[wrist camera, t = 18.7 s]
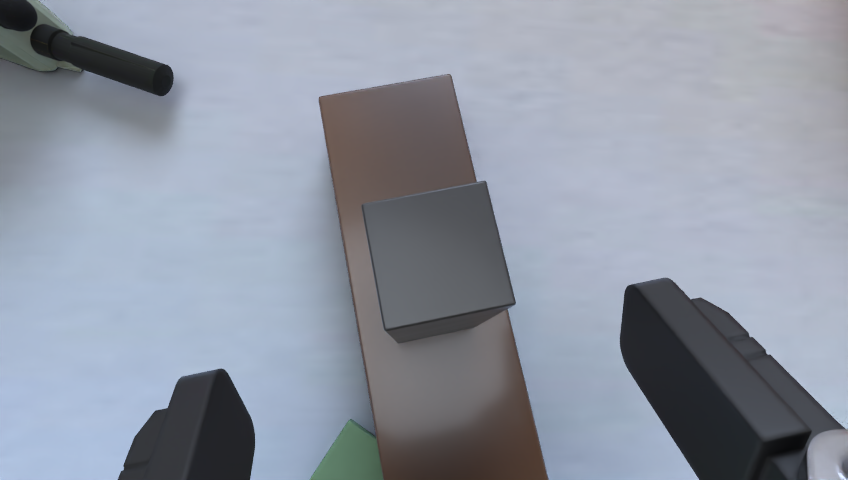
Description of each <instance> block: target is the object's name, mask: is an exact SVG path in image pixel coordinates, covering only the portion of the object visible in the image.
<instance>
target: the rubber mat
mask: <svg viewBox="0 0 848 480" xmlns="http://www.w3.org/2000/svg"><path fill="white" fill-rule="evenodd" d="M310 480H383V475H382V469H381V463H380V458H379V452H378V446H377V440H376V437H375V436H374V435H373V434H371V433H370V432H368V431H367V430H366V429H364V428H363V427H361V426H360V425H359V424H357V423H356V422H354V421H353V420H352V419H350V420H349V421H348V422H347V424H346V425H345V427H344V428H343V430H342V431H341V433H340V434H339V436H338V437H337V439H336V440H335V442H334V443H333V445H332V446H331V448H330V449H329V451H328V453H327V454H326V456H325V457H324V459H323V460H322V462H321V463H320V465H319V466H318V468H317V469H316V471H315V472H314V474H313V475H312V477H311V478H310Z"/></svg>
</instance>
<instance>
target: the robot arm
mask: <svg viewBox="0 0 848 480" xmlns="http://www.w3.org/2000/svg"><path fill="white" fill-rule="evenodd" d="M620 347H621V352H622V356H623V359H624V362H625V364H626V366H627V368H628V370H629V372H630V373H631V375H632V376H633V378H634V379H635V381H636V383H637V384H638V386H639V387H640V389H641V390H642V392H643V393H644V395H645V396H646V398H647V400H648V401H649V403H650V404H651V406H652V407H653V409H654V410H655V412H656V413H657V415H658V417H659V418H660V420H661V421H662V423H663V424H664V426H665V427H666V429H667V430H668V432H669V433H670V435H671V437H672V438H673V440H674V441H675V443H676V444H677V446H678V447H679V449H680V450H681V452H682V454H683V455H684V457H685V458H686V460H687V461H688V463H689V464H690V466H691V467H692V469H693V471H694V472H695V474H696V475H697V477H698V478H699V480H848V430H846V429H845V428H844V427H843V426H842V425H840V424H839V423H838V422H837V421H836V420H835V419H834V418H833V417H832V416H831V415H830V414H829V413H828V412H827V411H826V410H825V409H824V408H823V407H822V406H821V405H820V404H819V403H818V402H817V401H816V400H815V399H814V398H813V397H812V396H811V395H810V394H809V393H808V392H807V391H806V390H805V389H804V388H803V387H802V386H801V385H800V384H799V383H798V382H797V381H796V380H795V379H794V378H793V377H792V376H791V375H790V374H789V373H788V372H787V371H786V370H785V369H784V368H783V367H782V366H781V365H780V364H779V363H778V362H777V361H776V360H775V359H774V358H773V357H772V356H771V355H767V354H766V350H765V349H764V348H763V347H762V346H761V345H760V344H759V343H758V342H757V341H756V340H755V339H754V338H753V337H751V338H750V337H749V333H748V332H747V331H746V330H745V329H744V328H743V327H742V326H741V325H740V324H739V323H738V322H737V321H736V320H735V319H734V318H733V317H732V316H731V315H730V314H729V313H728V312H726V311H724V310H722V309H721V308H719V307H717V306H715V305H713V304H712V303H710V302H708V301H706V300H704V299H703V298H696V299H692V300H690V298H689V297H688V296H687V295H686V294H685V293H684V292H683V291H682V290H681V289H680V288H679V287H678V286H677V285H676V284H675V283H674V282H673V281H672V280H671V279H669V278H661V279H656V280H651V281H647V282H642V283H637V284H632V285H629V286H627V288H626V290H625V295H624V304H623V314H622V324H621V334H620ZM254 450H255V433H254V427H253V423H252V419H251V417H250V415H249V413H248V411H247V409H246V407H245V405H244V403H243V401H242V400H241V398H240V396H239V394H238V392H237V390H236V388H235V386H234V384H233V382H232V380H231V378H230V377H229V375H228V373H227V372H226V371H225V370H224V369H217V370H212V371H207V372H202V373H198V374H193V375H188V376H183V377H181V378H180V379H179V380H178V382H177V384H176V386H175V389H174V392H173V395H172V397H171V400H170V403H169V406H168V408H166V409H162V410H157V411H155V412H154V413H153V414H152V416H151V417H150V418H149V420H148V421H147V422H146V423H145V425H144V426H143V427H142V428H141V430H140V431H139V432H138V434H137V435H136V436H135V438H134V440H133V443H132V445H131V448H130V450H129V453H128V455H127V458H126V460H125V463H124V465H123V466H124V471H121V473H120V475H119V478H118V480H250V476H251V469H252V463H253V457H254Z"/></svg>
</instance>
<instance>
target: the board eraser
mask: <svg viewBox="0 0 848 480" xmlns="http://www.w3.org/2000/svg"><path fill="white" fill-rule="evenodd" d="M319 105H320V111H321V117H322V123H323V129H324V135H325V140H326V146H327V152H328V158H329V164H330V170H331V176H332V182H333V187H334V193H335V199H336V205H337V211H338V217H339V223H340V229H341V234H342V240H343V246H344V252H345V258H346V264H347V270H348V276H349V281H350V287H351V293H352V299H353V305H354V311H355V317H356V322H357V328H358V334H359V340H360V346H361V352H362V358H363V364H364V369H365V375H366V381H367V387H368V393H369V399H370V405H371V411H372V416H373V422H374V428H375V434H376V440H377V446H378V452H379V458H380V463H381V469H382V475H383V480H548V476H547V471H546V467H545V463H544V459H543V455H542V451H541V446H540V442H539V438H538V434H537V430H536V426H535V421H534V417H533V413H532V409H531V405H530V401H529V397H528V392H527V388H526V384H525V380H524V376H523V372H522V367H521V363H520V359H519V355H518V351H517V347H516V342H515V338H514V334H513V330H512V326H511V322H510V317H509V313H508V308H510V307H512V306H514V305H515V303H516V302H515V297H514V293H513V289H512V285H511V281H510V277H509V273H508V269H507V265H506V261H505V257H504V253H503V248H502V244H501V240H500V236H499V232H498V228H497V224H496V220H495V216H494V212H493V208H492V204H491V199H490V195H489V191H488V187H487V183H486V182H485V181H480V182H477V180H476V176H475V172H474V168H473V164H472V159H471V155H470V151H469V147H468V143H467V139H466V134H465V130H464V126H463V122H462V118H461V114H460V110H459V105H458V101H457V97H456V93H455V89H454V85H453V80H452V76H451V75H450V74H447V75H441V76H435V77H430V78H424V79H418V80H412V81H407V82H401V83H395V84H389V85H384V86H378V87H372V88H367V89H361V90H355V91H349V92H344V93H338V94H332V95H326V96H321V97H319Z"/></svg>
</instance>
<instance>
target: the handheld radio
mask: <svg viewBox="0 0 848 480" xmlns="http://www.w3.org/2000/svg"><path fill="white" fill-rule="evenodd" d="M0 58H2V59H5V60H8V61H11V62H14V63H17V64H19V65H22V66H25V67H28V68H31V69H34V70H38V71H54V70H56V69H57V67H59V68H64V69H68V70H73V71H78V72H81V70H82V69H83V70H86V71H89V72H92V73H95V74H98V75H101V76H103V77H106V78H109V79H112V80H115V81H118V82H121V83H124V84H127V85H129V86H132V87H135V88H138V89H141V90H144V91H147V92H150V93H153V94H155V95H158V96H164V95H166V94H167V93H168V92H169V91H170V89H171V87H172V85H173V72H172V69H171V68H170V67H169V66H168V65H165V64H162V63H159V62H156V61H153V60H150V59H147V58H144V57H141V56H138V55H136V54H133V53H130V52H127V51H124V50H121V49H118V48H115V47H112V46H109V45H106V44H103V43H100V42H97V41H94V40H91V39H88V38H85V37H81V36H79V37H76V36H73V34H72V32H71V30H70V29H69V28H68V27H67V26H66V25H65V24H64V23H63V22H62V21H61V20H60V19H59V18H58V17H57V16H56V15H55V14H53V13H52V12H51V11H50V10H49V9H48V8H47V7H45V6H44V5H43V4H42V3H40V2H39V1H38V0H0Z"/></svg>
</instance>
